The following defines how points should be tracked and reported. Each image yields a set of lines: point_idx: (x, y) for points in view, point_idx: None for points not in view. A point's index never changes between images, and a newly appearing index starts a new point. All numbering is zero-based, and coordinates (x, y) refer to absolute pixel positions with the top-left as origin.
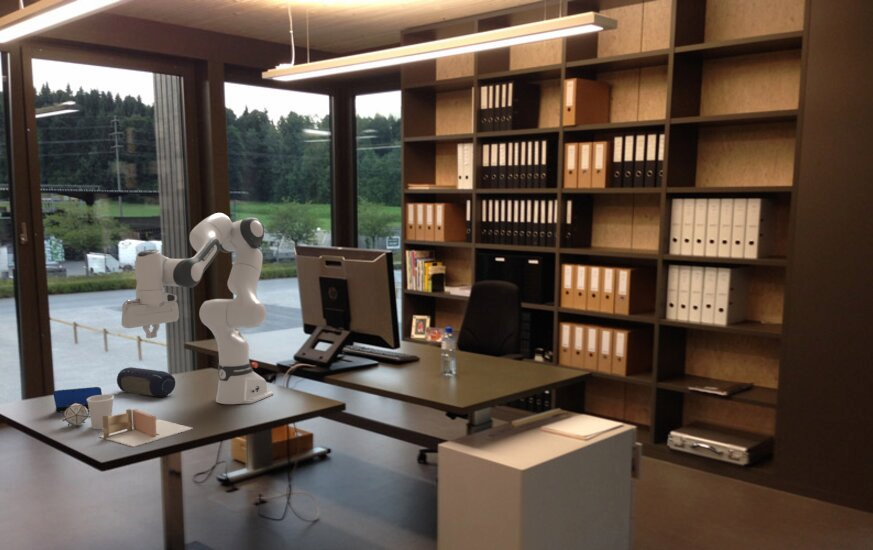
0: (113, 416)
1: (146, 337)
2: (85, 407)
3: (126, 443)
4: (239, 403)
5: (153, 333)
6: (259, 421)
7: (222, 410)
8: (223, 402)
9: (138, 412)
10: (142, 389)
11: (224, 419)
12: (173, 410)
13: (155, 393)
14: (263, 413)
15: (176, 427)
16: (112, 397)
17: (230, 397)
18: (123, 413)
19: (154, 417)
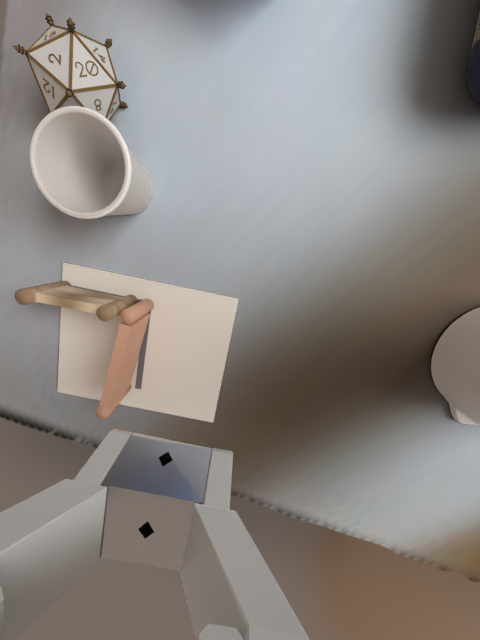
0: (53, 303)
1: (112, 430)
2: (95, 89)
3: (60, 366)
4: (444, 396)
5: (152, 554)
6: (316, 509)
7: (375, 389)
8: (435, 360)
9: (114, 345)
10: None
11: (305, 438)
12: (337, 264)
13: (466, 80)
14: (377, 487)
15: (200, 387)
16: (104, 211)
17: (450, 384)
18: (89, 306)
19: (102, 417)
